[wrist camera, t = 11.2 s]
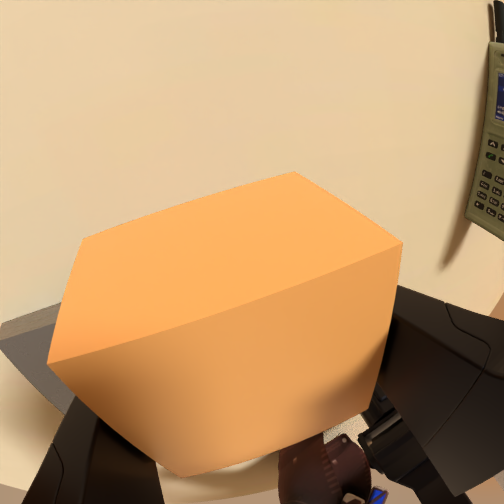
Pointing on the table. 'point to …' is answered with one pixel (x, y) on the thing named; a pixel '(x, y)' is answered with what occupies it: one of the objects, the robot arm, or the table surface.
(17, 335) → the breaker panel
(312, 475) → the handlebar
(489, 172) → the handheld radio
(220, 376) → the cap
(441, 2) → the table surface
